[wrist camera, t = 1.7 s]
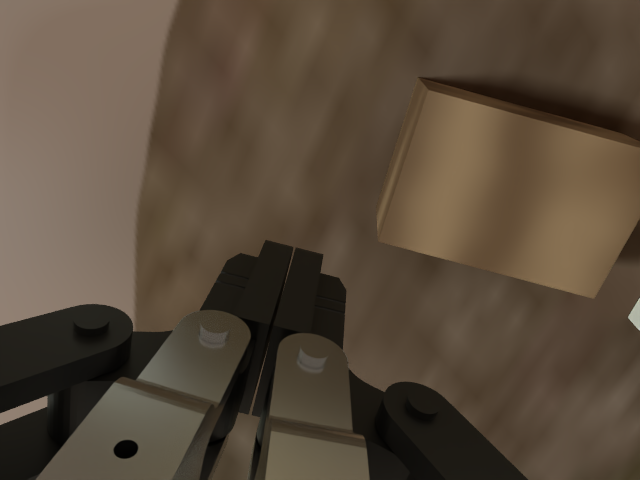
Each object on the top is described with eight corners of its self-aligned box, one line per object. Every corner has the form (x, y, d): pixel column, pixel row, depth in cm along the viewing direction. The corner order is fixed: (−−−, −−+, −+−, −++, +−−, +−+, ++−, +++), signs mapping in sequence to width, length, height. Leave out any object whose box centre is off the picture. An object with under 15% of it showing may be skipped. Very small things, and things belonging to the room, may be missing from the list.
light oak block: (620, 132, 28) (674, 157, 23) (558, 254, 32) (593, 298, 27) (417, 76, 28) (428, 90, 23) (376, 205, 31) (378, 241, 26)
